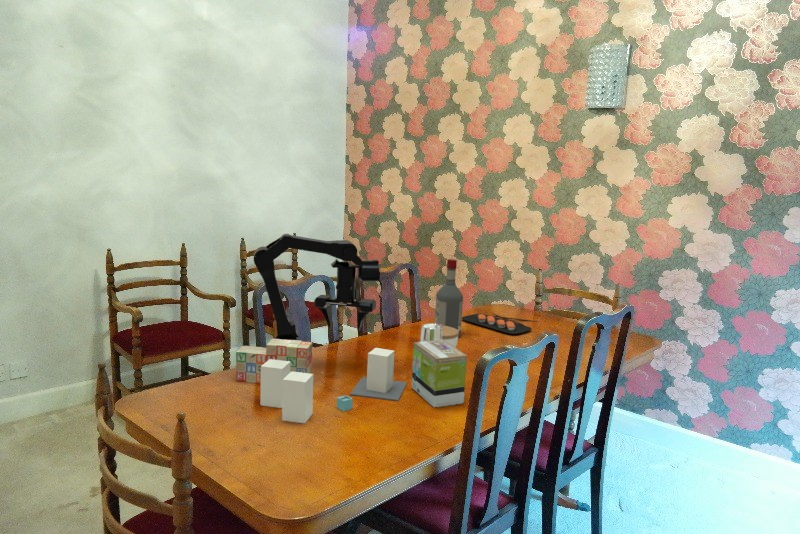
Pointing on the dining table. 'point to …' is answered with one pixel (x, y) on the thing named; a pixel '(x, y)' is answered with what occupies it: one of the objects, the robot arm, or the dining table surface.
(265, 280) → the robot arm
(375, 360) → the white rectangular prism
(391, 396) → the charcoal mat
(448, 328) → the lidded bowl
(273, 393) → the long cream brick
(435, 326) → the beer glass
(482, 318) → the sushi plate
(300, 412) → the tall white pillar block
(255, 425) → the dining table surface
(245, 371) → the stack of blocks
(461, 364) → the tea box
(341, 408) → the letter cube
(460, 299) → the liquor
